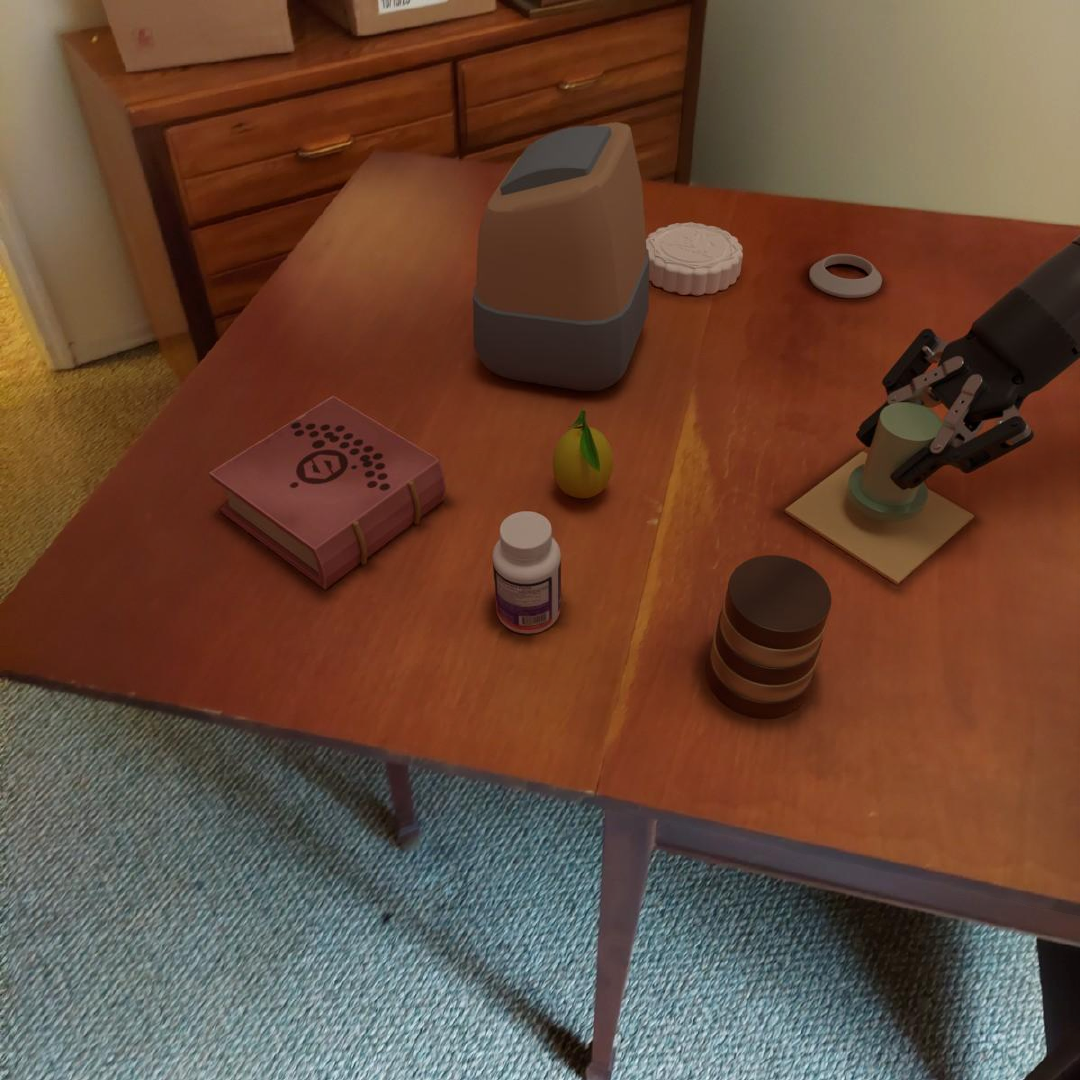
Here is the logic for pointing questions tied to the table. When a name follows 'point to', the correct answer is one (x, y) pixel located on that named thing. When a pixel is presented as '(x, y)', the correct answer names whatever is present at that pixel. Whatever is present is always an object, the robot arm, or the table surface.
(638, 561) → the table surface
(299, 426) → the book
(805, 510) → the mat
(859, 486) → the ring spool
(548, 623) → the pill bottle
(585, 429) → the lemon
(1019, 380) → the robot arm
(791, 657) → the stack
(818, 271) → the ring
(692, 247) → the mooncake
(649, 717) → the table surface
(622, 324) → the small trash can
